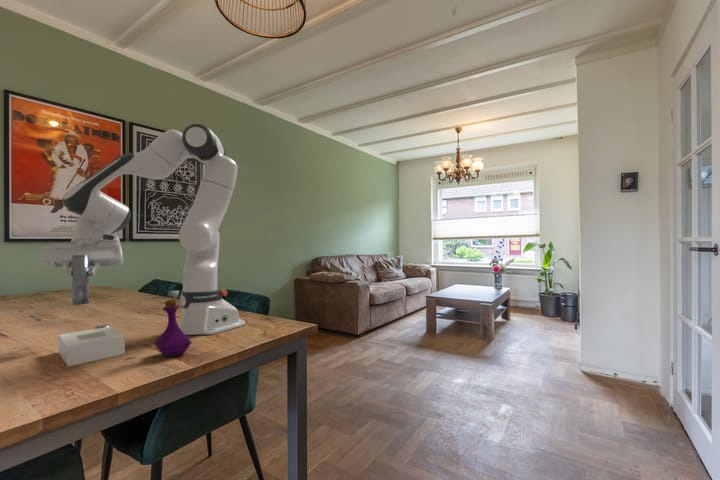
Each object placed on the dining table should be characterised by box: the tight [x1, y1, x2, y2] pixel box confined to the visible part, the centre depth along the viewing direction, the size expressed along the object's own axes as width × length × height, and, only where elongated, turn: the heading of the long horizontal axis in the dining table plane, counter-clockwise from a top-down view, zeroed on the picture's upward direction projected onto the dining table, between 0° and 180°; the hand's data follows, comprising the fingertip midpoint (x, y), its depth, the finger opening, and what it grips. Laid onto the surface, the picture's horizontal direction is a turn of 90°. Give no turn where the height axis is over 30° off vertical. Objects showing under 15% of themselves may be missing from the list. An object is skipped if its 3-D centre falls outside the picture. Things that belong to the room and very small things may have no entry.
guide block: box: [58, 326, 126, 367], centre depth 93 cm, size 12×16×5 cm
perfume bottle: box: [153, 290, 192, 358], centre depth 92 cm, size 8×8×18 cm
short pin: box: [94, 324, 112, 329], centre depth 105 cm, size 4×4×4 cm
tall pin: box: [71, 255, 90, 306], centre depth 101 cm, size 4×4×15 cm
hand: (80, 275), depth 100 cm, fingers closed on tall pin, 4 cm apart
